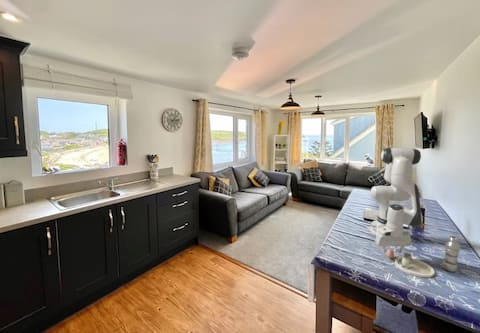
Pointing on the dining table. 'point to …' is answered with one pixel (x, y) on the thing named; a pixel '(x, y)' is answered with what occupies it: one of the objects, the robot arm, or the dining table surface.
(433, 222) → the dining table surface
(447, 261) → the silver metal bottle
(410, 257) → the bead
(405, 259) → the bead
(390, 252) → the bead
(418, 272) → the tray
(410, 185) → the robot arm
